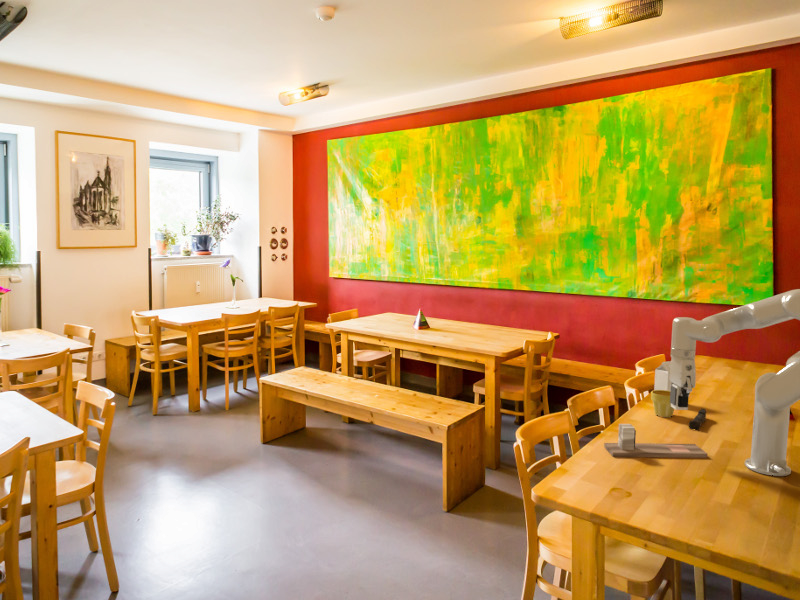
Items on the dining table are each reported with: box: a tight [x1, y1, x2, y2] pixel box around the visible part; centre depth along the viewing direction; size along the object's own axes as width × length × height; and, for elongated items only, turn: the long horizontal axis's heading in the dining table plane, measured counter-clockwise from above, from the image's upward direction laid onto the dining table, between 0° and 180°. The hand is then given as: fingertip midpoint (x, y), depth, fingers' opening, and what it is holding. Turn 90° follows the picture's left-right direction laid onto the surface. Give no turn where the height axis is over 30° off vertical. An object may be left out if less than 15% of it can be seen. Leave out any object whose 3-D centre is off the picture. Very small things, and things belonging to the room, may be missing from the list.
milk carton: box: [653, 360, 672, 391], centre depth 255 cm, size 7×7×19 cm
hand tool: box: [688, 408, 707, 431], centre depth 226 cm, size 19×4×5 cm, turn 138°
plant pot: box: [650, 390, 675, 418], centre depth 237 cm, size 10×10×10 cm
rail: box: [603, 423, 708, 459], centre depth 196 cm, size 9×32×10 cm, turn 88°
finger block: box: [670, 384, 690, 411], centre depth 194 cm, size 4×4×8 cm
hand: (679, 404), depth 194 cm, fingers closed on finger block, 4 cm apart
